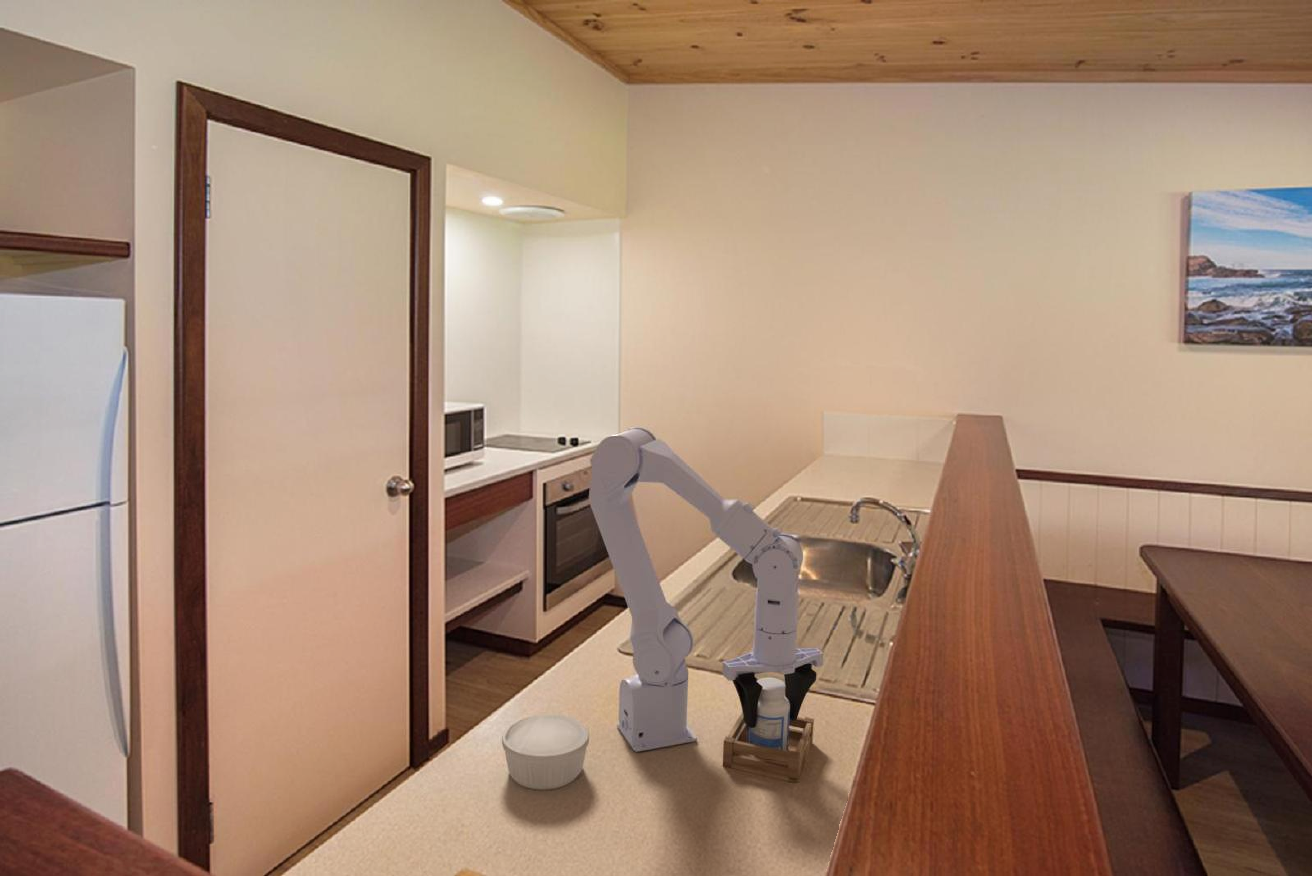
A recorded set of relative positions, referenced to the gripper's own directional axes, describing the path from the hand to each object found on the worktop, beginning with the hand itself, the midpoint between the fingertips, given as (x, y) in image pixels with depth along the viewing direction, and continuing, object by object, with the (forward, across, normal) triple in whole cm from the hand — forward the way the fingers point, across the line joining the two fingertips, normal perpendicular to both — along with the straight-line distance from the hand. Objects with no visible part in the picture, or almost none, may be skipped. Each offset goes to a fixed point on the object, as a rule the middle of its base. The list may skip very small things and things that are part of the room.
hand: (770, 720), depth 111 cm
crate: (+5, 0, 0) cm, 5 cm away
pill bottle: (+4, 0, 0) cm, 5 cm away
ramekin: (+5, -30, +6) cm, 31 cm away
